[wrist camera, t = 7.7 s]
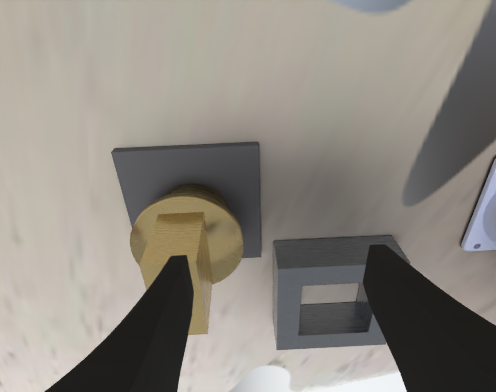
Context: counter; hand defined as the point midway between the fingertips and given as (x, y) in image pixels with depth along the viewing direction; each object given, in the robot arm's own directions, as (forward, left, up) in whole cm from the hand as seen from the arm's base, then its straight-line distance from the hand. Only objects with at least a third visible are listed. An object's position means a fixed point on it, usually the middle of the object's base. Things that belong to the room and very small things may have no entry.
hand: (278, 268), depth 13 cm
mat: (+5, +3, -10) cm, 11 cm away
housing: (-5, +11, -10) cm, 15 cm away
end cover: (+5, +3, -9) cm, 11 cm away
